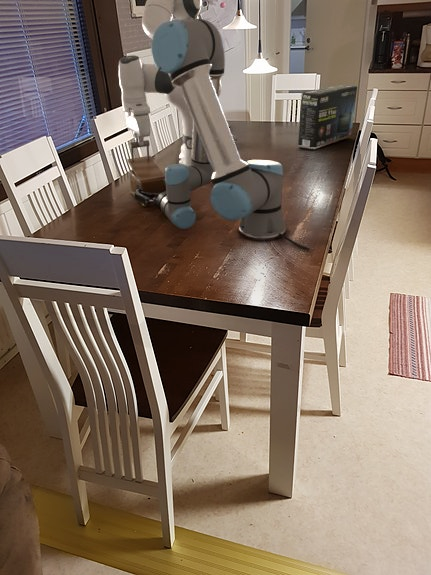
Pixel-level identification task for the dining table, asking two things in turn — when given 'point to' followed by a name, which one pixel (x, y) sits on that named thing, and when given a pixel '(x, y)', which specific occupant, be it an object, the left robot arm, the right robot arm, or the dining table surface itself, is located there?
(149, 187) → the chest
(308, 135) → the router box
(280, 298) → the dining table surface
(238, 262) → the dining table surface
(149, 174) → the lid
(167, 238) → the dining table surface
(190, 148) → the left robot arm
